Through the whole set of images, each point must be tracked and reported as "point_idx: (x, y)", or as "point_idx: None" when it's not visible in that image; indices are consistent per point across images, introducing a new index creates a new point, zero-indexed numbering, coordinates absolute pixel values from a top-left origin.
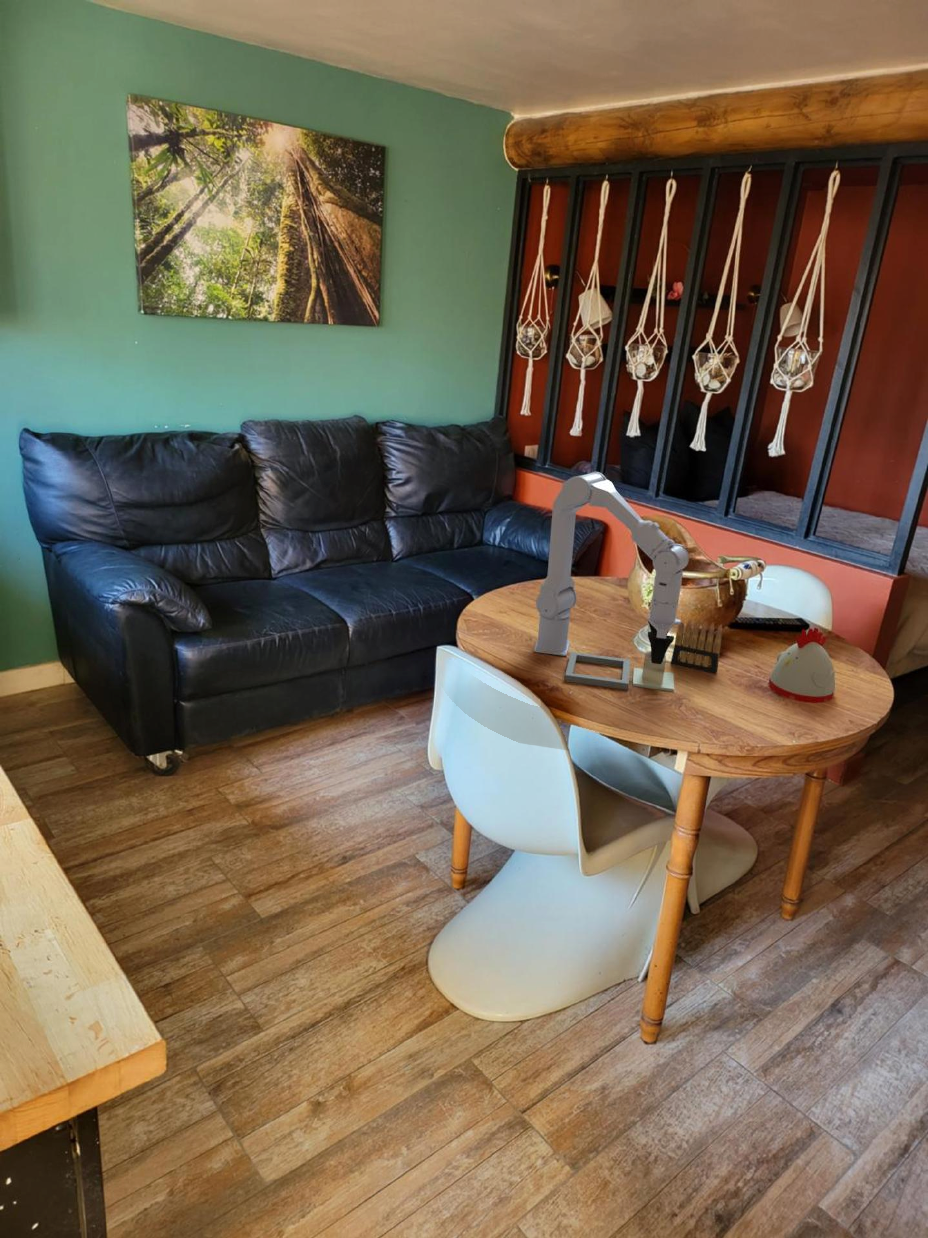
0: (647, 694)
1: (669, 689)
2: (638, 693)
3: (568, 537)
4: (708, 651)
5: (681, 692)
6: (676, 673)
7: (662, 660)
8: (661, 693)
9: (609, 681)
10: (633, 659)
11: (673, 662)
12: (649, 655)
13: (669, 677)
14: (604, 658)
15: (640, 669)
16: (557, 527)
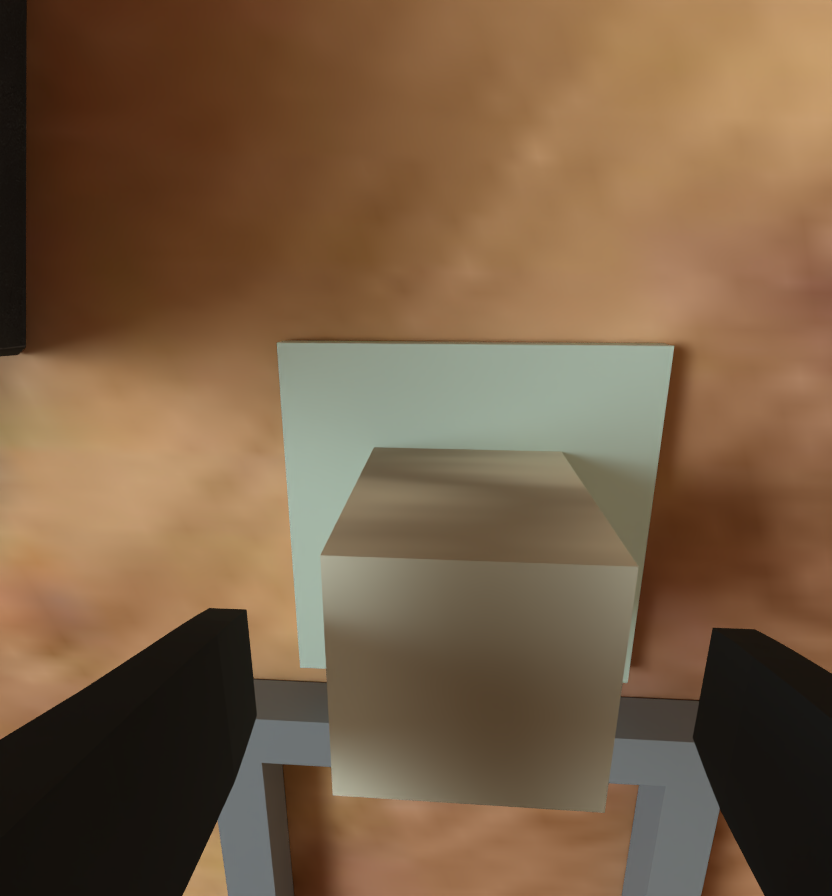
0: (766, 565)
1: (663, 386)
2: (757, 630)
3: None
4: None
5: (664, 266)
6: (218, 303)
7: (809, 665)
8: (724, 453)
9: (705, 860)
10: (89, 647)
11: (5, 331)
12: (485, 762)
13: (400, 382)
14: (269, 878)
15: (313, 621)
16: None
